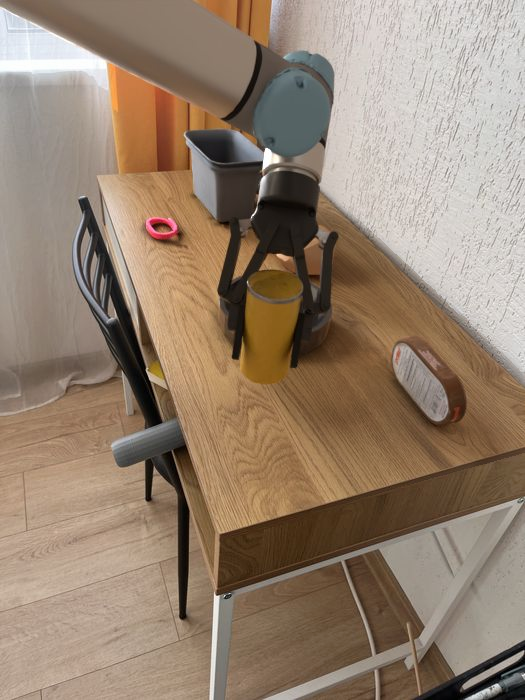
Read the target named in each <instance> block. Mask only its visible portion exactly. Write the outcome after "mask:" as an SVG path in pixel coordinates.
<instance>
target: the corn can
mask: <svg viewBox="0 0 525 700" xmlns="http://www.w3.org/2000/svg"><path fill="white" fill-rule="evenodd" d="M302 293H303V284H302V282H301V281H300V279H299V278H297V277H296V275H295V274H294V273H293V274H292V272H288V271H285V270H280V269H274V268H273V269H272V268H271V269H269V268H267V269H262V270H259V271H258V272H255V273H253V274H252V275H251V276H250V277H249V278H248V282H247V297H246V307H245V318H244V329H243V339H242V349H241V350H240V359H239V360H240V362H239V369H240V372H241V374H242V375H243V376H244V377H245V378H246V379H247V380H248V381H251V382H253V383H256V384H259V385H276V384H278V383H280V382H282V381H283V380H285V379H286V377H287V376H288V375H289V370H290V364H291V354H292V348H293V342H294V337H295V331H296V325H297V319H298V314H299V308H300V302H301V297H302Z"/></svg>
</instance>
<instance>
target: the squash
mask: <svg viewBox="0 0 525 700" xmlns="http://www.w3.org/2000/svg"><path fill="white" fill-rule="evenodd" d="M318 226H319V228H320V229H322V230H324V231H327V232H329V233H330V232H331V231H330V230H328V229H327V228H326V227H325V226H324V225H321V224H318ZM318 243H319V242H318V239H317V238H314V239H313V240H312V241H311V242H310V243H309V244H308V245H307V246H306V247H305V248H304V252H305V260H306V265H307V270H308V275H311V276H313V275H314V276H315V275H318V276H320V268H321V255H322V251H323V250H322V249H320V248H319V246H318ZM335 249H336V246H335V247H334V249H333V258H334V257H335ZM276 256H277V258H278V260H279V261H280V262H281V264H282V265H283V267H285V268H286V269H288V271H290V273H293V274H294V275H296V271H295V266H294V263H293V258H292V257H289V256H285V255H282V254H276Z"/></svg>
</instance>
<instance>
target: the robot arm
mask: <svg viewBox="0 0 525 700" xmlns="http://www.w3.org/2000/svg"><path fill="white" fill-rule="evenodd" d="M0 9H2V10H4V11H6V12H8V13H9V14H11V15H14V16H15V17H18V18H19V19H22V20H24V21H26V22H27V23H30V24H31V25H33V26H36V27H37V28H39V29H42V30H43V31H45V32H48V33H50V34H52V35H54V36H56V37H57V38H60V39H61V40H63V41H66V42H67V43H69V44H72V45H73V46H75V47H77V48H79V49H81V50H83V51H85V52H87V53H89V54H90V55H93V56H95V57H97V58H99V59H101V60H103V61H105V62H107V63H108V64H111V65H113V66H115V67H117V68H118V69H121V70H122V71H125V72H126V73H128V74H131V75H132V76H134V77H137V78H139V79H140V80H142V81H144V82H146V83H148V84H151V85H152V86H154V87H157V88H159V89H160V90H162V91H164V92H167V93H168V94H171V95H172V96H174V97H176V98H179V99H180V100H182V101H184V102H186V103H188V104H190V105H192V106H194V107H196V108H198V109H200V110H202V111H204V112H206V113H208V114H210V115H212V116H214V117H216V118H217V119H219V120H221V121H223V122H224V123H226V124H228V125H229V126H232V127H233V128H235V129H237V130H239V131H241V132H243V133H245V134H247V135H249V136H251V137H252V138H255V140H256V141H257V142H258V144H259V145H260V146H261V147H263V149H265V150H264V153H265V155H264V162H263V169H262V170H261V175H262V178H261V179H260V183H259V189H258V196H257V203H256V208H255V211H254V212H253V215H252V217H251V218H250V219H243V220H238V219H237V218H236V217H233V218H231V219H230V221H228V223H229V232H230V236H229V237H230V238H229V241H228V244H227V249H226V253H225V257H224V260H223V261H224V262H223V265H222V269H221V273H220V278H219V281H218V285H217V289H216V292H217V295H218V298H219V297H220V298H221V299H223V300H225V301H227V302H229V303H230V310H229V317H228V323H227V326H228V330H229V331H234V332H235V338H234V344H232V345H233V346H232V353H231V359H232V360H235V361H239V360H240V357H241V350H242V349H241V343H242V337H243V329H244V318H245V307H246V305H242V302H243V300H244V298H245V296H246V294H247V282H248V278H249V277H250V276H251V275H252V274H253V273H255V272H258V271H260V269H261V268H262V265H263V264H264V262H265V261H266V259H267V258H268V255H277V254H282V255H285V256H289V257H292V258H293V263H294V266H295V271H296V274H295V276H297V278H299V279H300V281H301V282H302V284H303V293H302V297H301V302H302V307H303V312H304V313H299V314H298V319H297V325H296V331H295V337H294V343H293V350H292V357H291V360H290V365H289V369H298V365H299V359H300V355H299V352H300V345H301V341H303V342H308V341H309V340H310V338H311V333H312V326H313V319H314V316H315V315H318V314H325V313H327V312H328V310H329V309H330V306H331V304H332V287H333V286H332V283H333V263H334V262H333V261H334V257H333V249H334V247H335V248H336V245H337V242H338V240H339V233H338V232H337V231H335V230H332V231H329V232H330V233H329V232H327V231H324V230H322V229H320V228H319V226H318V225H319V223H318V219H317V215H318V214H317V213H318V208H319V201H320V200H319V199H320V192H321V186H320V185H319V184H321V183H322V178H323V173H324V172H323V171H324V166H325V165H324V164H325V158H326V148H327V142H328V134H329V129H330V123H331V117H332V116H331V115H332V109H333V105H334V100H335V70H334V68H333V65H332V64H331V62H330V61H329V60H328V59H327V58H326V57H325V56H324V55H322V54H320V53H317V52H316V53H310V51H308V50H295V51H292V52H289V53H287V54H285V55H284V56H281V55H279V54H278V53H277V52H275V51H273V50H271V49H270V48H269V47H267V46H265V45H264V44H262V43H260V42H259V41H257V40H255V39H254V38H253V37H251V36H250V35H248V34H247V33H245V32H244V31H242V30H241V29H239V28H237V27H236V26H234V25H233V24H231V23H230V22H228V21H226V20H225V19H224V18H222V17H221V16H219V15H217V14H216V13H214V12H212V11H211V10H210V9H208V8H206V7H205V6H204V5H202V4H200V3H199V2H197V1H196V0H0ZM250 230H252V232H253V233H254V235H255V237H256V239H257V241H258V244H257V245H256V247H255V250H254V252H253V254H252V256H251V257H250V260H249V262H248V264H247V266H246V268H245V269H244V271H243V273H242V275H241V276H242V277H241V279H240V281H239V283H238V285H237V287H236V289H235V290H234V292H233V291H231V290H230V287H231V283H232V280H233V279H234V275H235V270H236V268H237V267H236V266H237V263H238V257H239V254H240V250H241V245H242V239H244V238H246V237H247V235H248V231H250ZM314 238H317V239H318V242H319V243H318V246H319V248H320V249H322V250H323V251H322V255H321V268H320V275H319V288H320V289H319V303H315V304H314V300H313V295H312V290H311V285H310V282H311V281H310V276H309V275H308V270H307V265H306V260H305V252H304V248H305V247H306V246H307V245H308V244H309V243H310V242H311V241H312V240H313V239H314Z"/></svg>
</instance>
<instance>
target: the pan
mask: <svg viewBox="0 0 525 700" xmlns="http://www.w3.org/2000/svg"><path fill="white" fill-rule="evenodd" d="M295 276H296V275H295ZM241 277H242V275H239V276H236V277H235V278H233V279H232V283H231V287H230V290H231V291H233V292H234V290H235V289H236V287H237V285H238V283H239V281H240V279H241ZM296 277H297V276H296ZM310 285H311V290H312V295H313V300H314V304H315V303H319V289H320V286H317V285H316V284H314V283H313V282H312V281H310ZM246 297H247V294H246V296H245V298H244V300H243V302H242V305H246ZM217 304H218V305H217V323H218V327H219V328H220V330H221V331H222V333H223V335H224V336H225V337H226V339H227V340H229V341H230V342H231V343H232V345H234V338H235V332H234V331H229V330H228V326H227V323H228V317H229V310H230V303H229V302H227V301H225V300H223V299H221V298H220V297H219V296H218V303H217ZM299 313H304V312H303V307H302V302H300V308H299ZM332 316H333V305H332V303H331V306H330V309H329V310H328V312H327V313H325V314H318V315H315V316H314V319H313V326H312V333H311V338H310V340H309V341H308V342H303V341H301V345H300V352H299V356H303V355H305V354H308V353H310V352H312V351H313V350H315V349H317V348H318V347H319V346H320V345H321V344H322V343H323V342H324V341H325V339H326V337H327V336H328V333H329V330H330V327H331V326H330V325H331V320H332ZM242 339H243V337H242ZM293 343H294V342H293ZM241 350H242V343H241ZM292 350H293V348H292ZM291 357H292V354H291Z"/></svg>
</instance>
